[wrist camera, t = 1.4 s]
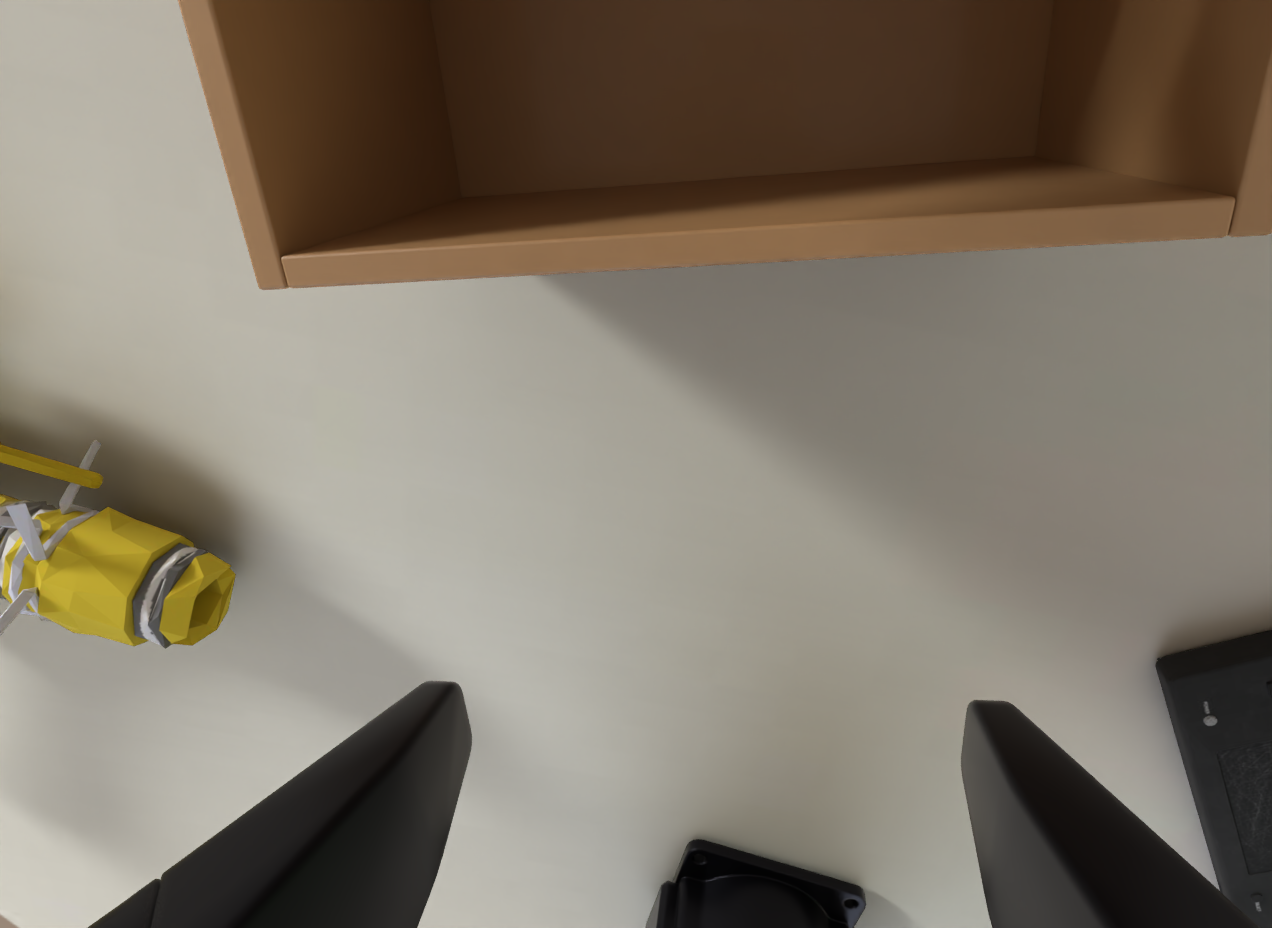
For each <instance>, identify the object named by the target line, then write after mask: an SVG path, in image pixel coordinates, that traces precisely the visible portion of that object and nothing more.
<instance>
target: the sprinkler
mask: <svg viewBox="0 0 1272 928" xmlns="http://www.w3.org/2000/svg"><path fill="white" fill-rule="evenodd" d="M100 445H101V443H99V442H98V441H96V440H95V439H94V441H93V442H92V444H91V446H90V448H89V450H88V451H87V453H86V455H85V457H84V459H83V460H82V462H81V464H80V466H79V467H75V466H72V465H68V464H65V463H62V462H58V461H55V460H51V459H48V458H45V457H41V456H38V455H35V454H31V453H28V452H24V451H21V450H18V449H14V448H11V447H7V446H4V445H1V442H0V463H4V464H8V465H11V466H15V467H18V468H22V469H25V470H29V471H32V472H36V473H39V474H43V475H46V476H50V477H53V478H57V479H60V480H64V481H67V482H70V484H69V485H68V487H67V489H66V491H65V492H64V494H63V496H62V498H61V500H60V501H59V507H60V509H57V508H55V506H54V505H47V503H46V502H34V501H28V500H23V501H21V500H18V499H15V498H12V497H9V496H6V495H3V494H0V599H7V600H8V601H9V602H10V603H11V605H10V606H9V607H8V608H7V609H6V611H5V612H4V613H3V614H2V615H1V616H0V635H1V634H2V633H3V632H4V630H5V629H6V628H7V627H8V626H9V624H10V623H11V622H12V621H13V620H14V619H15V617H16V616H17V615H18V614H19V613H21V614H29V615H37V616H39V618H40V619H41V620H46V621H53V622H55V623H57V624H59V625H61V626H63V627H64V628H66V629H68V630H70V631H72V632H73V633H80V634H89V635H97V636H100V637H104V638H107V639H111V640H114V641H118V642H121V643H125V644H128V645H131V646H136V645H139V644H141V643H144V642H147V641H152V642H154V643H157V644H159V645H162V646H163V647H164V648H167V647H168V646H170V645H172V644H182V645H194V644H195V643H197V642H198V641H200V640H201V639H203V638H205V637H206V636H208V635H209V634H211V633H212V632H214V631H216V630H217V628H218V627H219V625H220V623H221V622H222V620H223V618H224V617H225V615H226V613H227V611H228V608H229V604H230V599H231V594H232V590H233V585H234V580H235V576H236V574H235V573H234V572H233V571H232V570H231V569H230V568H229V567H231V565H229V564H227V563H226V562H224V561H223V560H221V559H219V558H218V557H216V556H214V555H213V554H211V553H208V552H207V551H206V550H203V549H200V548H199V549H197V548H194V544H193V542H191V541H190V540H188V539H187V538H185V537H184V536H182V535H179V534H176V533H173V532H170V531H167V530H164V529H161V528H159V527H156V526H153V525H150V524H147V523H144V522H141V521H138V520H136V519H133V518H131V517H129V516H127V515H125V514H123V513H120V512H118V511H116V510H114V509H112V508H110V507H107V508H105V509H104V510H102V511H101V512H99V511H96V510H93V509H90V508H86V507H82V506H78V505H75V504H72V502H73V500H74V498H75V496H76V494H77V492H78V490H79V488H80V486H85V487H88V488H99V487H100V486H101V484H102V482H103V476H101V475H100V474H99V473H96V472H92V471H89V468H90V466H91V464H92V462H93V460H94V458H95V455H96V453H97V451H98V449H99V447H100Z"/></svg>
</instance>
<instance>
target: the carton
mask: <svg viewBox="0 0 1272 928" xmlns="http://www.w3.org/2000/svg"><path fill="white" fill-rule="evenodd" d="M178 2H179V6H180V9H181V13H182V16H183V20H184V24H185V27H186V31H187V34H188V38H189V41H190V45H191V48H192V52H193V56H194V59H195V63H196V66H197V70H198V73H199V77H200V80H201V84H202V88H203V91H204V95H205V98H206V102H207V105H208V109H209V112H210V116H211V119H212V123H213V127H214V130H215V134H216V137H217V141H218V144H219V148H220V151H221V155H222V159H223V162H224V166H225V169H226V173H227V176H228V180H229V183H230V187H231V191H232V194H233V198H234V201H235V205H236V208H237V212H238V215H239V219H240V222H241V226H242V230H243V233H244V237H245V240H246V244H247V247H248V251H249V254H250V258H251V262H252V265H253V269H254V272H255V276H256V279H257V283H258V286H259V288H260V289H262V290H271V289H286V288H289V287H290V288H308V287H326V286H345V285H363V284H381V283H400V282H418V281H436V280H455V279H473V278H491V277H509V276H528V275H546V274H564V273H583V272H601V271H619V270H638V269H656V268H674V267H693V266H711V265H729V264H748V263H766V262H784V261H802V260H821V259H839V258H857V257H876V256H894V255H912V254H931V253H949V252H967V251H986V250H1004V249H1022V248H1041V247H1059V246H1077V245H1096V244H1114V243H1132V242H1150V241H1169V240H1187V239H1205V238H1222V237H1224V236H1231V237H1242V236H1260V235H1268V234H1271V233H1272V0H178Z"/></svg>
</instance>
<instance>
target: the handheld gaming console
mask: <svg viewBox="0 0 1272 928" xmlns="http://www.w3.org/2000/svg"><path fill="white" fill-rule="evenodd" d="M1157 660H1158V661H1157V663H1156V669H1157V673H1158V676H1159V680H1160V683H1161V687H1162V690H1163V694H1164V697H1165V701H1166V704H1167V708H1168V711H1169V714H1170V718H1171V721H1172V725H1173V728H1174V732H1175V735H1176V739H1177V742H1178V746H1179V749H1180V753H1181V756H1182V760H1183V763H1184V767H1185V770H1186V773H1187V777H1188V780H1189V784H1190V787H1191V791H1192V794H1193V798H1194V801H1195V805H1196V808H1197V812H1198V815H1199V818H1200V822H1201V825H1202V829H1203V832H1204V836H1205V839H1206V843H1207V846H1208V850H1209V853H1210V856H1211V860H1212V863H1213V867H1214V870H1215V874H1216V877H1217V881H1218V884H1219V888H1220V891H1221V893H1222V894H1223V895H1225V896H1226V897H1227V898H1228V899H1229V900H1230V901H1231V902H1232V903H1233V904H1235V905H1236V906H1237V907H1238V908H1239V909H1240V910H1241V911H1242V912H1243V913H1244V914H1246V915H1247V916H1248V917H1249V918H1250V919H1251V920H1252V921H1253V922H1254V923H1256V924H1257V925H1258V926H1259V927H1260V928H1272V630H1271V631H1267V632H1263V633H1259V634H1255V635H1251V636H1247V637H1243V638H1239V639H1235V640H1231V641H1227V642H1222V643H1218V644H1214V645H1210V646H1206V647H1202V648H1198V649H1194V650H1190V651H1186V652H1182V653H1178V654H1173V655H1169V656H1165V657H1163V658H1161V659H1160V658H1158V659H1157Z"/></svg>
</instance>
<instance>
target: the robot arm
mask: <svg viewBox="0 0 1272 928" xmlns="http://www.w3.org/2000/svg"><path fill="white" fill-rule="evenodd" d="M471 746H472V733H471V728H470V724H469V719H468V715H467V710H466V706H465V701H464V697H463V693H462V690H461V688H460V686H459V685H458V684H457V683H455V682H446V681H428V682H424V683H423V684H421V685H419V686H418V687H417V688H415V689H414V690H413V691H411V692H410V693H409V694H407V695H406V696H404V697H403V698H402V699H400V700H399V701H398V702H396V703H395V704H394V705H392V706H391V707H389V708H388V709H387V710H385V711H384V712H383V713H381V714H380V715H379V716H377V717H376V718H374V719H373V720H372V721H370V722H369V723H368V724H366V725H365V726H364V727H362V728H361V729H359V730H358V731H357V732H355V733H354V734H353V735H351V736H350V737H348V738H347V739H346V740H344V741H343V742H342V743H340V744H339V745H338V746H336V747H335V748H333V749H332V750H331V751H329V752H328V753H327V754H325V755H324V756H323V757H321V758H320V759H318V760H317V761H316V762H314V763H313V764H312V765H310V766H309V767H308V768H306V769H305V770H303V771H302V772H301V773H299V774H298V775H297V776H295V777H294V778H293V779H291V780H290V781H288V782H287V783H286V784H284V785H283V786H282V787H280V788H279V789H278V790H276V791H275V792H273V793H272V794H271V795H269V796H268V797H267V798H265V799H264V800H262V801H261V802H260V803H258V804H257V805H256V806H254V807H253V808H252V809H250V810H249V811H247V812H246V813H245V814H243V815H242V816H241V817H239V818H238V819H237V820H235V821H234V822H232V823H231V824H230V825H228V826H227V827H226V828H224V829H223V830H222V831H220V832H219V833H217V834H216V835H215V836H213V837H212V838H211V839H209V840H208V841H207V842H205V843H204V844H202V845H201V846H200V847H198V848H197V849H196V850H194V851H193V852H191V853H190V854H189V855H187V856H186V857H185V858H183V859H182V860H181V861H179V862H178V863H176V864H175V865H174V866H172V867H171V868H170V869H168V870H167V871H165V872H164V873H163V875H162V877H161V880H160V879H154V880H153V881H152V882H150V883H149V884H147V885H146V886H145V887H143V888H142V889H141V890H139V891H138V892H137V893H135V894H134V895H132V896H131V897H130V898H128V899H127V900H126V901H124V902H123V903H122V904H120V905H119V906H117V907H116V908H115V909H113V910H112V911H110V912H109V913H107V914H106V915H105V916H103V917H102V918H100V919H99V920H98V921H96V922H95V923H93V924H92V925H91V926H89V927H88V928H417V927H418V924H419V921H420V919H421V916H422V914H423V911H424V908H425V906H426V903H427V901H428V898H429V895H430V893H431V890H432V887H433V884H434V881H435V879H436V876H437V873H438V870H439V866H440V863H441V860H442V856H443V853H444V849H445V845H446V842H447V838H448V834H449V831H450V827H451V823H452V819H453V816H454V812H455V808H456V805H457V801H458V797H459V793H460V790H461V786H462V782H463V778H464V775H465V771H466V767H467V764H468V760H469V756H470V752H471ZM961 770H962V778H963V783H964V789H965V794H966V799H967V804H968V810H969V815H970V820H971V825H972V831H973V836H974V841H975V846H976V852H977V857H978V862H979V867H980V873H981V878H982V883H983V889H984V894H985V898H986V903H987V908H988V912H989V917H990V920H991V924H992V928H1260V927H1259V926H1258V925H1257V924H1256V923H1254V922H1253V921H1252V920H1251V919H1250V918H1249V917H1248V916H1247V915H1246V914H1244V913H1243V912H1242V911H1241V910H1240V909H1239V908H1238V907H1237V906H1236V905H1235V904H1233V903H1232V902H1231V901H1230V900H1229V899H1228V898H1227V897H1226V896H1225V895H1223V894H1222V893H1221V892H1220V891H1219V890H1218V889H1217V888H1216V887H1215V886H1213V885H1212V884H1211V883H1210V882H1209V881H1208V880H1207V879H1206V878H1205V877H1203V876H1202V875H1201V874H1200V873H1199V872H1198V871H1197V870H1196V869H1195V868H1194V867H1192V866H1191V865H1190V864H1189V863H1188V862H1187V861H1186V860H1185V859H1184V858H1182V857H1181V856H1180V855H1179V854H1178V853H1177V852H1176V851H1175V850H1174V849H1172V848H1171V847H1170V846H1169V845H1168V844H1167V843H1166V842H1165V841H1164V840H1163V839H1161V838H1160V837H1159V836H1158V835H1157V834H1156V833H1155V832H1154V831H1153V830H1151V829H1150V828H1149V827H1148V826H1147V825H1146V824H1145V823H1144V822H1143V821H1141V820H1140V819H1139V818H1138V817H1137V816H1136V815H1135V814H1134V813H1133V812H1131V811H1130V810H1129V809H1128V808H1127V807H1126V806H1125V805H1124V804H1123V803H1122V802H1120V801H1119V800H1118V799H1117V798H1116V797H1115V796H1114V795H1113V794H1112V793H1110V792H1109V791H1108V790H1107V789H1106V788H1105V787H1104V786H1103V785H1102V784H1100V783H1099V782H1098V781H1097V780H1096V779H1095V778H1094V777H1093V776H1092V775H1090V774H1089V773H1088V772H1087V771H1086V770H1085V769H1084V768H1083V767H1082V766H1081V765H1079V764H1078V763H1077V762H1076V761H1075V760H1074V759H1073V758H1072V757H1071V756H1069V755H1068V754H1067V753H1066V752H1065V751H1064V750H1063V749H1062V748H1061V747H1059V746H1058V745H1057V744H1056V743H1055V742H1054V741H1053V740H1052V739H1051V738H1049V737H1048V736H1047V735H1046V734H1045V733H1044V732H1043V731H1042V730H1041V729H1040V728H1038V727H1037V726H1036V725H1035V724H1034V723H1033V722H1032V721H1031V720H1030V719H1028V718H1027V717H1026V716H1025V715H1024V714H1023V713H1022V712H1021V711H1020V710H1018V709H1017V708H1016V707H1015V706H1014V705H1012V704H1011V703H1009V702H1005V701H988V700H974V701H972V702H971V703H969V705H968V708H967V712H966V720H965V728H964V736H963V745H962V753H961ZM865 906H866V901H865V893H864V891H863V889H862V888H861V887H859V886H857V885H855V884H851V883H848V882H844V881H841V880H838V879H834V878H831V877H827V876H824V875H821V874H817V873H814V872H810V871H807V870H804V869H800V868H797V867H793V866H790V865H787V864H783V863H780V862H776V861H773V860H770V859H766V858H763V857H759V856H756V855H753V854H749V853H746V852H743V851H739V850H736V849H732V848H729V847H726V846H722V845H719V844H715V843H712V842H709V841H705V840H699V839H698V840H693V841H691V842H689V843H688V845H687V847H686V849H685V852H684V854H683V857H682V859H681V862H680V864H679V867H678V869H677V872H676V874H675V877H674V879H673V882H671V881H667V882H665V883H664V884H662V885H661V887H660V890H659V892H658V895H657V898H656V900H655V903H654V905H653V908H652V910H651V913H650V916H649V918H648V921H647V924H646V928H854V926H855V924H856V923H857V921H858V919H859V918H860V916H861V914H862V912H863V911H864V909H865Z"/></svg>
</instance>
